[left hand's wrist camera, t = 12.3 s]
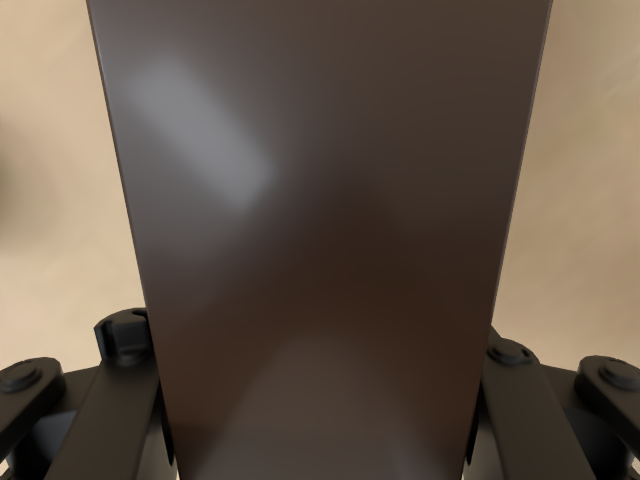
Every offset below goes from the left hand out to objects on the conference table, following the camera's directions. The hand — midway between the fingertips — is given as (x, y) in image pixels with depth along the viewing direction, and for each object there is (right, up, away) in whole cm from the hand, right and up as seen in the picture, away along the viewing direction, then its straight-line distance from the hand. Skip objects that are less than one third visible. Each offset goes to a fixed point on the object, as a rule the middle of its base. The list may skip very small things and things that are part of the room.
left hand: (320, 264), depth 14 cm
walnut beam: (0, +9, -3) cm, 10 cm away
